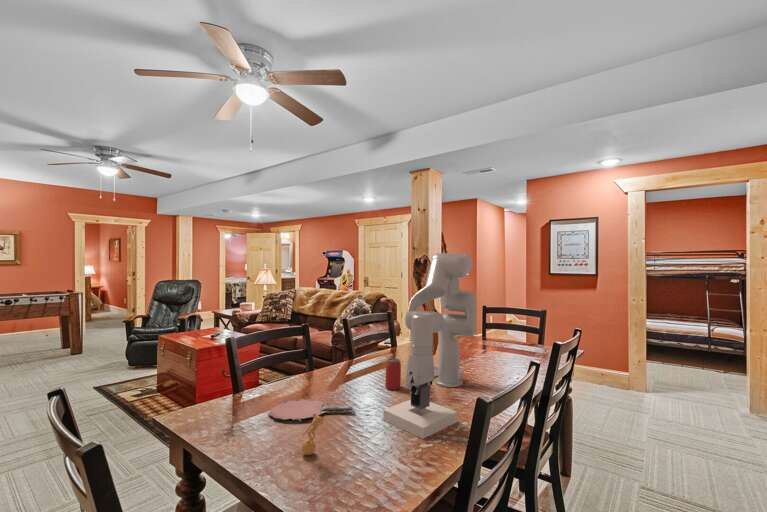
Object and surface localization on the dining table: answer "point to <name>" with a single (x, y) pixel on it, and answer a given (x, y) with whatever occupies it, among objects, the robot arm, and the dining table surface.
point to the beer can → (393, 374)
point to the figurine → (309, 444)
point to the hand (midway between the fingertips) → (420, 402)
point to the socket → (420, 418)
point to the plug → (423, 396)
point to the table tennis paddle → (304, 410)
